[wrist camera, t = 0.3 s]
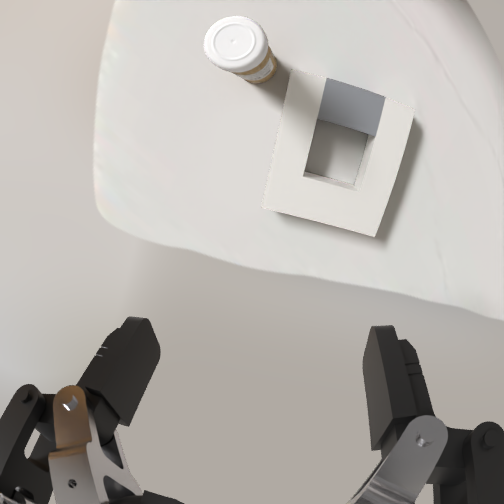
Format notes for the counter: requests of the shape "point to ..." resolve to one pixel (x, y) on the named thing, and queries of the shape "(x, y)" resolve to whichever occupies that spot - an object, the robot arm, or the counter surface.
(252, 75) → the sprinkles bottle
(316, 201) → the housing
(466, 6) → the counter surface
